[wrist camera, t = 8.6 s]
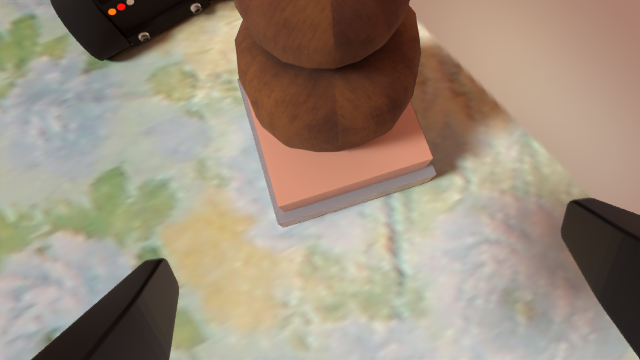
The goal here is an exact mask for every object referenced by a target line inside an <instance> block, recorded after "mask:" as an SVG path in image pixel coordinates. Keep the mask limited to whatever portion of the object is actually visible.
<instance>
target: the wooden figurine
mask: <svg viewBox="0 0 640 360" xmlns="http://www.w3.org/2000/svg"><path fill="white" fill-rule="evenodd" d="M409 1H410V0H234V3H235V7H236V8H237V10H238V12H239V13H240V15H241V17H242V18H243V21H242V23H241V26H240V28H239V31H238V33H237V36H236V38H235V46H236V54H237V64H238V75H239V81H240V83H241V85H242V87H243V89H244V91H245V93H246V95H247V97H248V99H249V101H250V103H251V106H252V108H253V111H254V113H255V116H256V118H257V120H258V121H259V123H260V124H261V126H262V127H263V128H264V129H265V130H267V131H268V132H269V133H270V134H271V135H273V136H274V137H275V138H276V139H277V140H279V141H280V142H281V143H282V144H284V145H285V146H287V147H289V148H293V149H301V150H307V151H313V152H339V151H342V150H346V149H349V148H353V147H358V146H361V145H363V144H365V143H367V142H369V141H372V140H374V139H376V138H378V137H381V136H383V135H385V134H386V133H388V132H389V131H390V130H392V128H393V127H394V125H395V124H396V122H397V121H398V119H399V118H400V116H401V115H402V114H403V112H404V111H405V109H406V108H407V106H408V104H409V102H410V100H411V98H412V96H413V92H414V88H415V84H416V79H417V73H418V67H419V61H420V55H421V48H420V38H419V32H418V26H417V20H416V14H415V12H414V11H413V10H412V8H411V7H410V6H409Z"/></svg>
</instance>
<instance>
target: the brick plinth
mask: <svg viewBox="0 0 640 360" xmlns="http://www.w3.org/2000/svg"><path fill="white" fill-rule="evenodd" d="M237 80H238V84H239V87H240V91H241V94H242V98H243V101H244V105H245V109H246V112H247V116H248V119H249V123H250V126H251V130H252V133H253V137H254V140H255V144H256V148H257V151H258V155H259V158H260V162H261V165H262V169H263V172H264V176H265V180H266V183H267V187H268V190H269V194H270V197H271V201H272V204H273V208H274V211H275V215H276V219H277V222H278V224H279V225H280V226H282V227H287V226H290V225H293V224H296V223H299V222H303V221H306V220H309V219H312V218H315V217H318V216H322V215H325V214H328V213H331V212H334V211H337V210H341V209H344V208H347V207H350V206H353V205H357V204H360V203H363V202H366V201H369V200H372V199H376V198H379V197H382V196H385V195H388V194H391V193H395V192H398V191H401V190H404V189H407V188H410V187H414V186H417V185H420V184H423V183H426V182H428V181H430V180H431V179H432V178H433V177H434V176H435V175H436V172H435V169H434V167H433V164H432V162H431V160H432V159H433V157H432V154H431V152H430V149H429V147H428V144H427V142H426V139H425V137H424V134H423V132H422V129H421V126H420V124H419V121H418V119H417V116H416V114H415V111H414V109H413V106H412V104H411V101H410V102H409V104H408V106H407V108H406V109H405V111H404V112H403V114H402V115H401V116H400V118H399V119H398V121H397V122H396V124H395V125H394V127H393V128H392V130H390V131H389V132H388V133H386V134H385V135H383V136H381V137H378V138H376V139H374V140H372V141H369V142H367V143H365V144H363V145H361V146H358V147H353V148H349V149H346V150H342V151H339V152H313V151H307V150H301V149H293V148H289V147H287V146H285V145H284V144H282V143H281V142H280V141H279V140H277V139H276V138H275V137H274V136H273V135H271V134H270V133H269V132H268V131H267V130H265V129H264V128H263V127H262V126H261V124H260V123H259V121H258V120H257V118H256V116H255V113H254V111H253V108H252V106H251V103H250V101H249V99H248V97H247V95H246V93H245V91H244V89H243V87H242V85H241V83H240V81H239V79H237Z"/></svg>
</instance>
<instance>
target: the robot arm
mask: <svg viewBox="0 0 640 360" xmlns="http://www.w3.org/2000/svg"><path fill="white" fill-rule="evenodd" d="M561 236H562V239H563V241H564V243H565V245H566V246H567V248H568V250H569V252H570V253H571V255H572V257H573V259H574V260H575V262H576V264H577V266H578V267H579V269H580V271H581V273H582V274H583V276H584V278H585V280H586V281H587V283H588V285H589V287H590V288H591V290H592V292H593V293H594V295H595V296H596V298H597V300H598V301H599V303H600V304H601V306H602V307H603V309H604V310H605V311H606V313H607V314H608V316H609V317H610V318H611V320H612V321H613V323H614V324H615V325H616V327H617V328H618V330H619V331H620V332H621V334H622V335H623V337H624V338H625V339H626V341H627V342H628V344H629V345H630V346H631V348H632V349H633V350H634V352H635V353H636V355H637V356H638V357H639V359H640V215H638V214H635V213H633V212H630V211H627V210H624V209H621V208H619V207H616V206H613V205H611V204H608V203H605V202H602V201H599V200H597V199H594V198H582V199H575V200H572V201H570V202H569V203H568V205H567V207H566V211H565V215H564V219H563V223H562V226H561ZM178 297H179V285H178V282H177V280H176V278H175V276H174V274H173V271H172V269H171V267H170V265H169V263H168V261H167V260H166V259H164V258H156V259H149V260H146V261H144V262H143V263H142V264H141V265H139V266H138V267H137V268H136V269H135V270H134V271H132V272H131V273H130V274H129V275H128V276H127V277H126V278H124V279H123V280H122V281H121V282H120V283H119V284H117V285H116V286H115V287H114V288H113V289H112V290H111V291H109V292H108V293H107V294H106V295H105V296H104V297H103V298H101V299H100V300H99V301H98V302H97V303H96V304H94V305H93V306H92V307H91V308H90V309H89V310H88V311H86V312H85V313H84V314H83V315H82V316H81V317H79V318H78V319H77V320H76V321H75V322H74V323H73V324H71V325H70V326H69V327H68V328H67V329H66V330H65V331H63V332H62V333H61V334H60V335H59V336H58V337H56V338H55V339H54V340H53V341H52V342H51V343H50V344H48V345H47V346H46V347H45V348H44V349H43V350H41V351H40V352H39V353H38V354H37V355H36V356H35V357H33V358H32V359H31V360H169V358H170V352H171V346H172V339H173V332H174V325H175V318H176V311H177V304H178Z"/></svg>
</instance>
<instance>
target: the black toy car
mask: <svg viewBox="0 0 640 360" xmlns="http://www.w3.org/2000/svg"><path fill="white" fill-rule="evenodd" d="M50 1H51V4H52V6H53V8H54V10H55V12H56V13H57V15H58V17H59V18H60V20H61V21H62V23H63V24H64V25H65V27H66V28H67V29H68V31H69V32H70V33H71V34H72V36H73V37H74V38H75V39H76V40H77V41H78V42H79V43H80V45H81V46H82V47H83V48H84V49H85V50H86V51H87V52H89V53H90V54H91V55H92V56H93V57H95V58H96V59H98V60H100V61H104V60H105V59H107V58H109V57H111V56H113V55H114V54H116V53H118V52H120V51H122V50H123V49H125V48H127V47H129V46H130V45H131V43H132V44H133V45H134V47H135V46H137V45H138V44H140V43H142V42H147V41H148V40H149V39H150V38H151V37H153V36H154V35H156V34H158V33H160V32H162V31H163V30H165V29H167V28H169V27H171V26H172V25H174V24H176V23H178V22H180V21H181V20H183V19H185V18H187V17H189V16H190V15H192V14H194V13H199V12H200V11H201V10H202V9H203V8H205V7H206V6H208V5H210V4H209V2H208V0H50ZM209 1H211V0H209Z"/></svg>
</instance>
